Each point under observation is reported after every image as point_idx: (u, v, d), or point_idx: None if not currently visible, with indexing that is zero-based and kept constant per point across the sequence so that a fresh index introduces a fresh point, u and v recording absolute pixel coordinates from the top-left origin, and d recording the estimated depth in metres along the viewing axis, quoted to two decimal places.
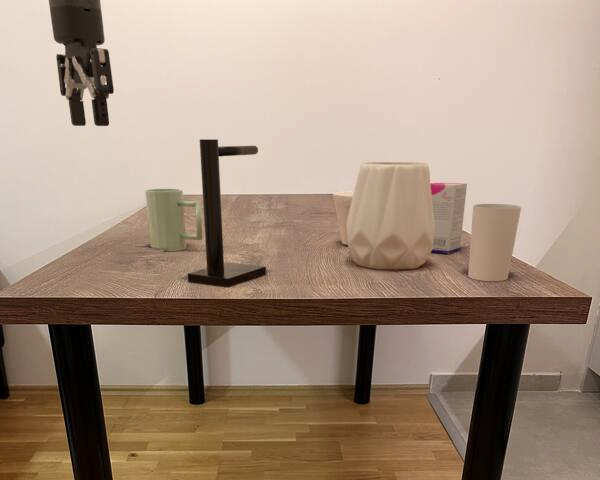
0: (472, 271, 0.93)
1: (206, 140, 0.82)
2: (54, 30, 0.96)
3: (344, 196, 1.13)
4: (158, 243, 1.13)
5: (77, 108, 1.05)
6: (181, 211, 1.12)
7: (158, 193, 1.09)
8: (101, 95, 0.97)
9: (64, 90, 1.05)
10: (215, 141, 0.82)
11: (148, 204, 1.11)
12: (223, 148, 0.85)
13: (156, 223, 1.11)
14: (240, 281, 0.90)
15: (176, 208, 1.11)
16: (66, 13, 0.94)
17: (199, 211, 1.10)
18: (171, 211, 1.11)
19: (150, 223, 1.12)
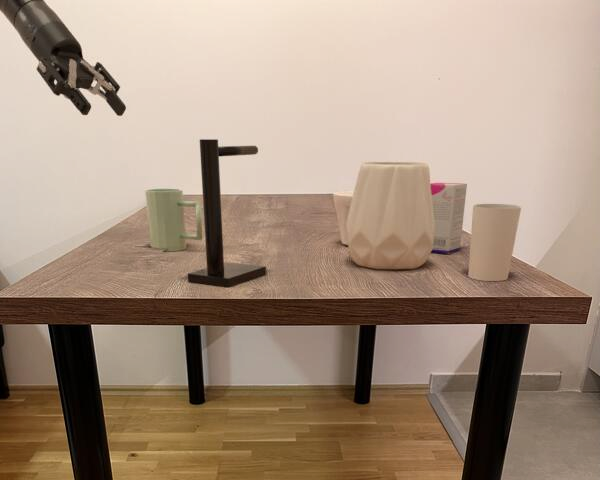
0: (472, 271, 0.93)
1: (206, 140, 0.82)
2: None
3: (344, 196, 1.13)
4: (158, 243, 1.13)
5: (112, 101, 1.15)
6: (181, 211, 1.12)
7: (158, 193, 1.09)
8: (64, 92, 1.07)
9: None
10: (215, 141, 0.82)
11: (148, 204, 1.11)
12: (223, 148, 0.85)
13: (156, 223, 1.11)
14: (240, 281, 0.90)
15: (176, 208, 1.11)
16: (35, 56, 1.11)
17: (199, 211, 1.10)
18: (171, 211, 1.11)
19: (150, 223, 1.12)
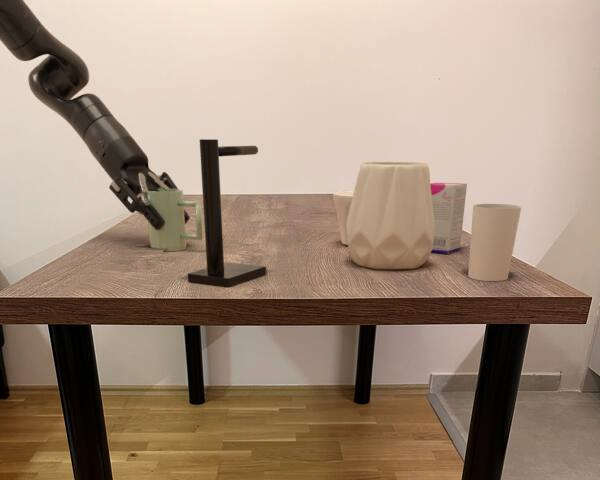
0: (472, 271, 0.93)
1: (206, 140, 0.82)
2: None
3: (344, 196, 1.13)
4: (158, 243, 1.13)
5: None
6: (181, 211, 1.12)
7: (158, 193, 1.09)
8: (139, 210, 1.10)
9: None
10: (215, 141, 0.82)
11: None
12: (223, 148, 0.85)
13: None
14: (240, 281, 0.90)
15: (176, 208, 1.11)
16: (103, 168, 1.13)
17: (199, 211, 1.10)
18: (171, 210, 1.11)
19: None
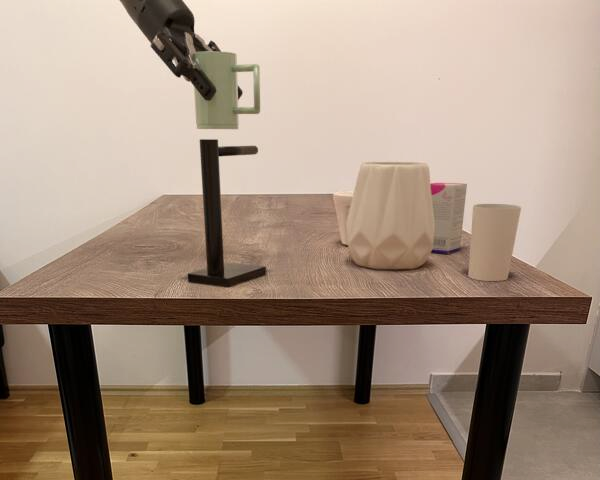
0: (472, 271, 0.93)
1: (206, 140, 0.82)
2: None
3: (344, 196, 1.13)
4: (207, 118, 0.95)
5: None
6: (235, 80, 0.94)
7: (209, 53, 0.91)
8: (185, 74, 0.91)
9: None
10: (215, 141, 0.82)
11: None
12: (223, 148, 0.85)
13: None
14: (240, 281, 0.90)
15: (229, 74, 0.93)
16: (142, 30, 0.95)
17: (258, 76, 0.92)
18: (224, 76, 0.92)
19: (198, 94, 0.94)
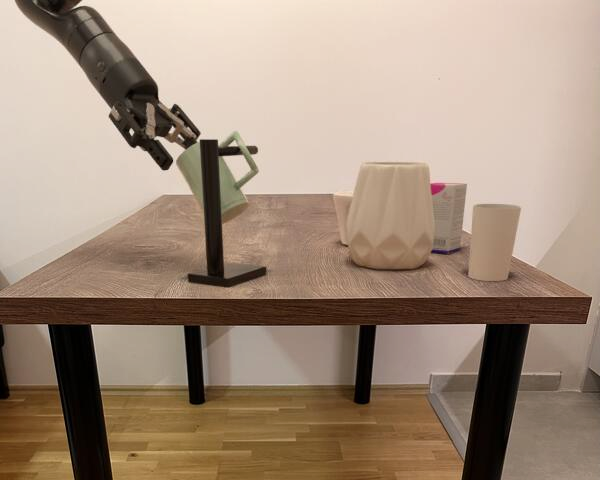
0: (472, 271, 0.93)
1: (206, 140, 0.82)
2: None
3: (344, 196, 1.13)
4: None
5: None
6: (223, 161, 0.91)
7: (189, 149, 0.89)
8: (141, 144, 0.89)
9: None
10: (215, 141, 0.82)
11: (185, 172, 0.91)
12: (223, 148, 0.85)
13: None
14: (240, 281, 0.90)
15: None
16: (104, 99, 0.93)
17: (240, 140, 0.88)
18: None
19: (196, 192, 0.91)
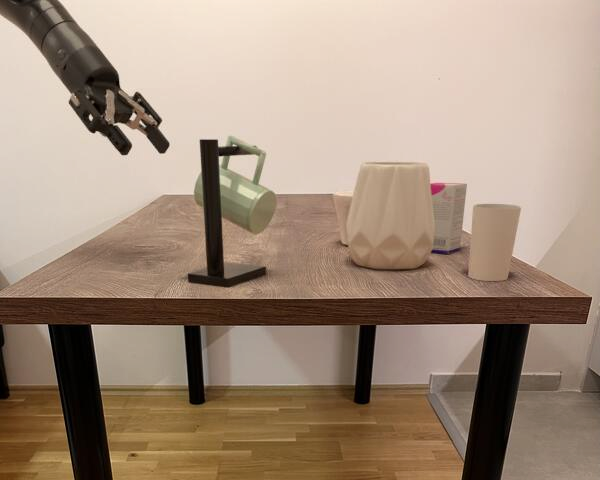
0: (472, 271, 0.93)
1: (206, 140, 0.82)
2: None
3: (344, 196, 1.13)
4: (244, 207, 0.88)
5: (154, 136, 0.99)
6: (233, 172, 0.91)
7: (199, 178, 0.90)
8: (100, 130, 0.91)
9: None
10: (215, 141, 0.82)
11: None
12: (223, 148, 0.85)
13: (224, 198, 0.89)
14: (240, 281, 0.90)
15: (225, 171, 0.90)
16: (66, 86, 0.95)
17: (237, 139, 0.88)
18: (223, 175, 0.89)
19: (223, 209, 0.90)
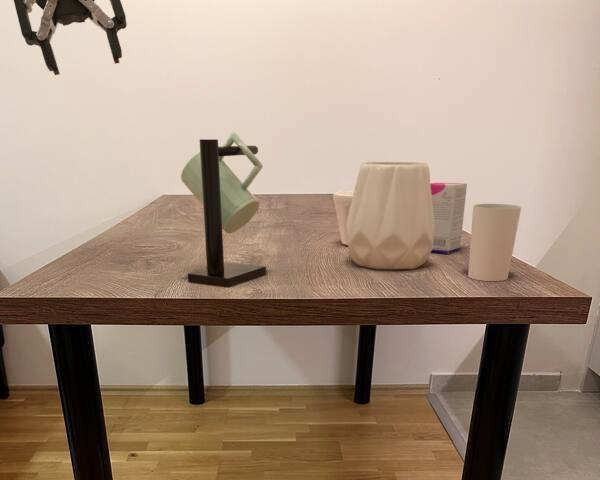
0: (472, 271, 0.93)
1: (206, 140, 0.82)
2: None
3: (344, 196, 1.13)
4: (225, 210, 0.90)
5: (109, 42, 0.90)
6: (226, 166, 0.91)
7: (191, 161, 0.89)
8: (35, 43, 0.88)
9: None
10: (215, 141, 0.82)
11: (191, 184, 0.91)
12: (223, 148, 0.85)
13: None
14: (240, 281, 0.90)
15: None
16: None
17: (239, 139, 0.88)
18: None
19: None
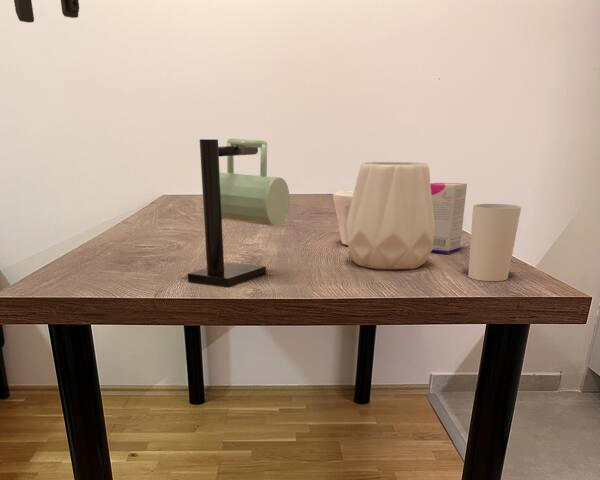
0: (472, 271, 0.93)
1: (206, 140, 0.82)
2: None
3: (344, 196, 1.13)
4: (258, 199, 0.86)
5: None
6: (240, 173, 0.90)
7: None
8: None
9: None
10: (215, 141, 0.82)
11: None
12: (223, 148, 0.85)
13: (237, 197, 0.88)
14: (240, 281, 0.90)
15: (232, 174, 0.90)
16: None
17: (236, 139, 0.88)
18: (230, 177, 0.89)
19: (238, 209, 0.89)
